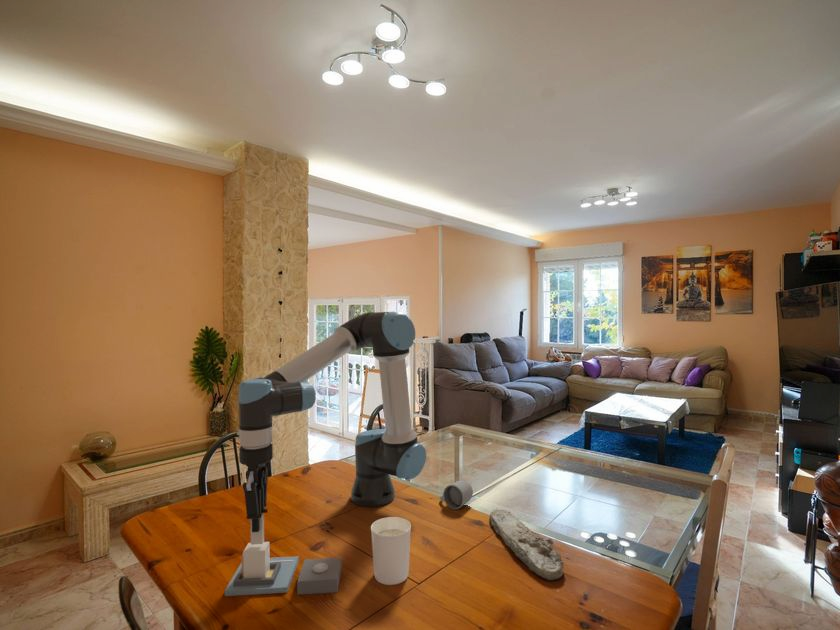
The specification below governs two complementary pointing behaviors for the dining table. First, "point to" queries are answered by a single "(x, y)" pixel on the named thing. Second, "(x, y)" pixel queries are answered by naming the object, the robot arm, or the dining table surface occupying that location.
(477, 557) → the dining table surface
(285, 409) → the robot arm
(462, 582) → the dining table surface
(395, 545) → the candle holder
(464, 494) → the ceramic mug
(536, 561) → the long grey stone
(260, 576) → the plug
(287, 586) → the board
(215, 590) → the dining table surface
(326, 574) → the grey push button box
